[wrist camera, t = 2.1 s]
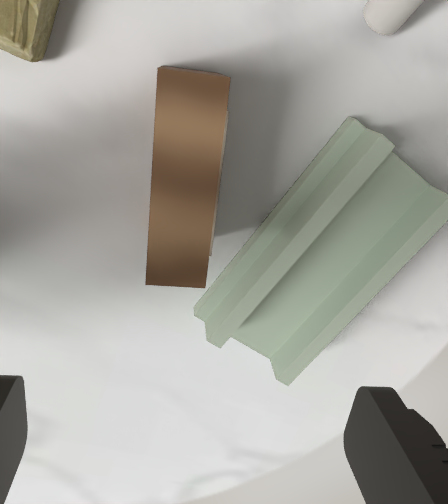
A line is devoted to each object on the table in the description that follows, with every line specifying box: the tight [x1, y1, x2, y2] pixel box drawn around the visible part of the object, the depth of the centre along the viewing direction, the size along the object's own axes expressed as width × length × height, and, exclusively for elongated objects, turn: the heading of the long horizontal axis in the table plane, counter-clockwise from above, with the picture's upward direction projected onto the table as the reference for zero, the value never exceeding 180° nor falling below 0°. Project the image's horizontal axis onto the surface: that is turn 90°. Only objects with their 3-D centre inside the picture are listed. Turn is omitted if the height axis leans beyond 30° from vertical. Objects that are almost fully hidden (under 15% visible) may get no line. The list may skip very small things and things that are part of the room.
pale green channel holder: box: [194, 117, 448, 386], centre depth 38 cm, size 22×12×4 cm, turn 143°
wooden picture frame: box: [145, 66, 231, 288], centre depth 31 cm, size 14×4×9 cm, turn 173°
